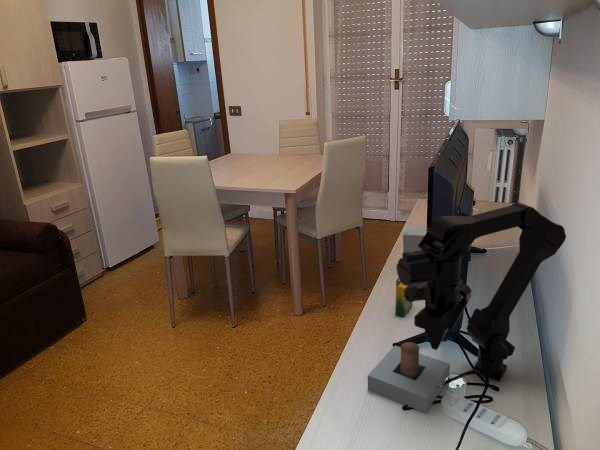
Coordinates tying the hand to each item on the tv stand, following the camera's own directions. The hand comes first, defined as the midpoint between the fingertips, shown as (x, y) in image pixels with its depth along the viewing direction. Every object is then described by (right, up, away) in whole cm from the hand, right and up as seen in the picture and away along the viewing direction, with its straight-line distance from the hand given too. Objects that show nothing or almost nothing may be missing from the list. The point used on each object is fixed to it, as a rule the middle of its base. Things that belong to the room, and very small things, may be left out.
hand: (442, 338), depth 104 cm
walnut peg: (-6, -12, +4) cm, 14 cm away
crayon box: (-1, -1, +36) cm, 36 cm away
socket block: (-7, -12, +4) cm, 14 cm away
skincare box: (+9, +9, +60) cm, 62 cm away
